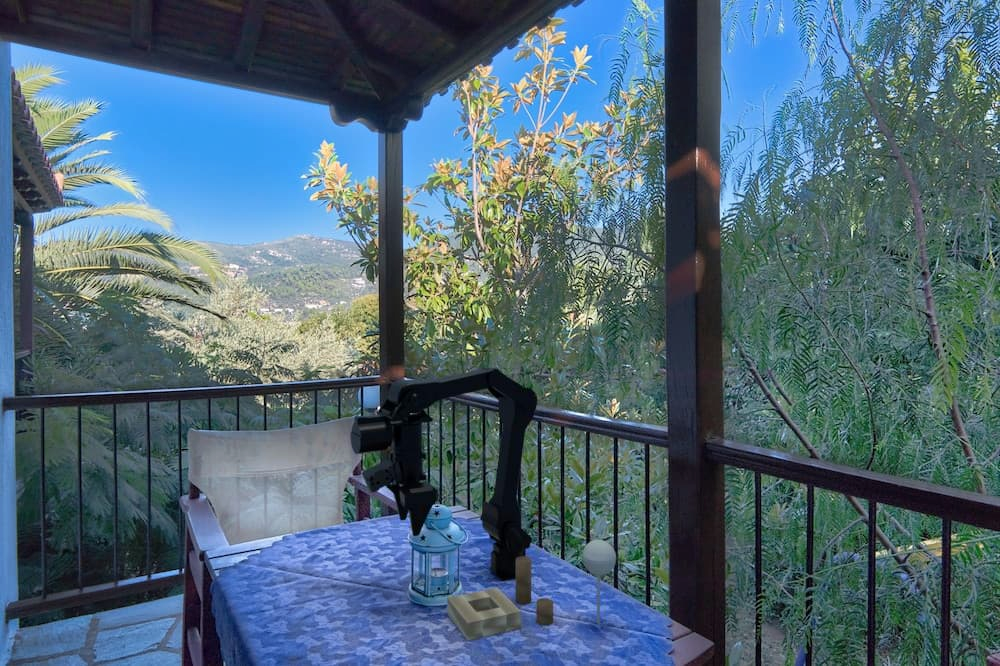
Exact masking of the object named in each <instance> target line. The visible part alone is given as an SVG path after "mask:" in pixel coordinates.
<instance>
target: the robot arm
mask: <svg viewBox="0 0 1000 666" xmlns="http://www.w3.org/2000/svg"><path fill="white" fill-rule="evenodd" d="M482 390H487V392H488V393H489V394H490V395H491V396H492V397H494V398H495V399H496V400H497V402H498V403H497V404H498V414H499V419H500V422H501V425H502V429H501V437H500V446H499V453H498V461H497V467H496V469H497V470H496V475H495V483H494V491H493V494H492V497H490V499H489V500H488V501H487V500H484V501H482V505H481V508H482V510H481V511H482V512H481V515H480V518H479V520H480V521H482V522H481V525H482V528H483V530H484V531H485V532H486V533H487V534H488V537H489V539H490V540H491V541H493V543H492V547H493V548H492V551H490V566H489V570H490V571H491V572H492V573H493V574H494V576H497V578H499V580H501V581H506V580H511V579H516V558H517V557H521V556H526V555H527V554H526V553H527V552H526V551H527V550H526V549H530V547H531V543H532V540H533V538H532V536H531V535H530V534H528V532H526V530H524V529H523V528H522V511H521V509H520V504H519V502H518V493H519V492H518V491H519V490H518V489H519V483H520V475H521V467H522V458H523V451H524V443H525V436H526V431H527V428H528V427H529V426H530V423H531V422H532V421H533V419H534V418H535V413H536V410H537V407H538V395H537V394H536V393H535V391H534V390H533V389H532V388H531V387H526V386H523V385H522V384H520V383H518V382H517V381H515V380H514V379H513V378H511V377H508V376H507V375H506V374H505V373H503V372H502V371H501V370H500V369H498V368H496V367H491V366H484V367H483V366H482V368H480V369H475V370H471V371H466V372H461V373H456V374H453V375H448V376H443V377H439V378H434V379H399V380H397V381H393V383H391V385H390V387H389V389H388V392H387V397H386V398H385V400H384V401H383V402H382V404H381V406H380V408H378V410H377V412H376V414H374V415H357V416H356V415H355V416H354V420H353V421H354V422H353V424H352V426H351V432H350V433H349V434H350V436H349V437H350V445H351V448H352V451H353V453H354V454H355V455H361V454H369V453H373V452H381V451H382V452H383V451H387V450H388V449H389V448H390V447H392V450H389V453H388V459H387V460H385V461H381V462H379V463H377V464H375V465H372V466H371V467H369V468H367V469H365V470H363V471H362V472H361V476H362V477H363V480H364V482H365V485H366V487H367V489H368V490H369V492H370V493H376V492H378V491H380V489H382V488H384V487H386V488H387V489H388V490H389V491H390V492H391V493H392V495H393V498H394V501H395V505H396V506H395V507H396V510H397V514H398V516H399V520H400V521H406V520H407V518H408V517H409V523H410V527H411V532H412V533H411V534H412V536H413V537H418V536H420V534H421V531H422V529H423V527H424V525H425V522H426V521H427V518H428V516H429V514H430V512H431V510H432V508H433V506H434V505H436V503H437V502H438V501H439V490H438V489H437V488H436V487H435V486H433V484H432V483H430V482H429V481H427V474H426V473H425V472H424V459H427V453H426V452H425V451H424V449H423V448H424V444H423V443H424V441H423V440H424V439H423V438H424V435H423V423H432V422H433V421H434V418H433V417H431V416H430V415H429V414H428V413H427V412H426V410H425V409H428V408H430V407H432V406H433V405H434V404H436V403H437V402H440V401H442V400H446V399H450V398H453V397H457V396H462V395H466V394H470V393H474V392H478V391H482ZM421 481H422V482H421ZM526 557H527V556H526Z"/></svg>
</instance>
